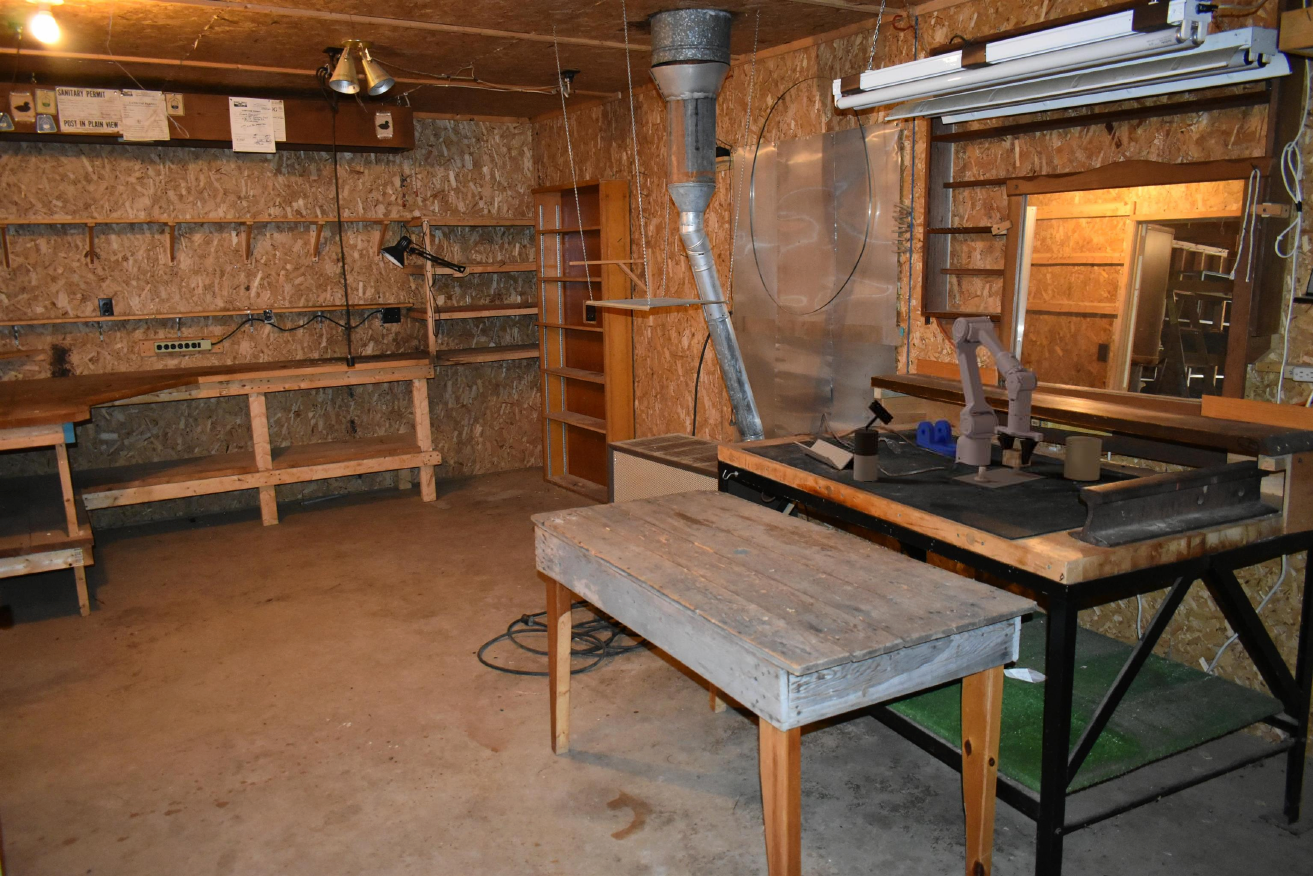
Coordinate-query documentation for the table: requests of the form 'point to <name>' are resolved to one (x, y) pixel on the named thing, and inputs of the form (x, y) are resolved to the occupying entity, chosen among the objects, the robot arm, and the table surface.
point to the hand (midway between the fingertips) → (1016, 462)
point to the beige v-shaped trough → (828, 454)
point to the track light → (869, 445)
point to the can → (1082, 458)
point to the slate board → (997, 477)
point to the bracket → (936, 437)
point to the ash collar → (1013, 457)
